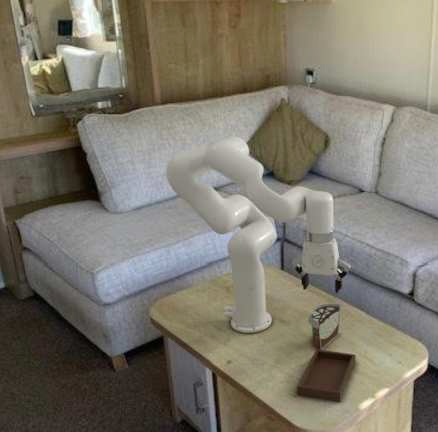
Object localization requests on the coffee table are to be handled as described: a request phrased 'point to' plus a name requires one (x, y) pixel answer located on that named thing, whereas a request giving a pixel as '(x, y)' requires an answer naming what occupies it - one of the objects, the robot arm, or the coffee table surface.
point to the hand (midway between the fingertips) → (321, 289)
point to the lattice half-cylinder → (324, 324)
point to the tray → (326, 375)
